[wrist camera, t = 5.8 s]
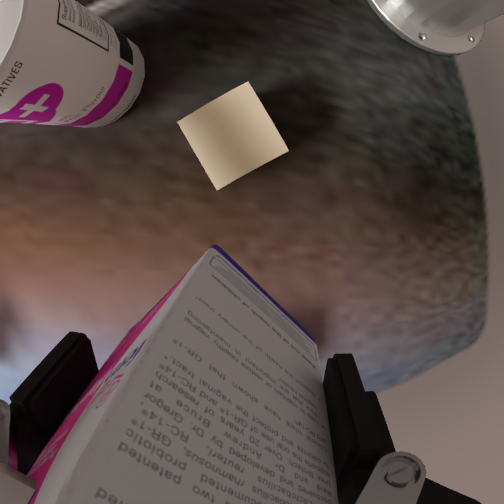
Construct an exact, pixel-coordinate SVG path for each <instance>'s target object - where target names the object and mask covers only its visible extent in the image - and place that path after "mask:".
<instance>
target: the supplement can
mask: <svg viewBox="0 0 504 504" xmlns="http://www.w3.org/2000/svg"><path fill="white" fill-rule="evenodd" d="M144 77H145V68H144V58H143V56H142V54H141V52H140V50H139V48H138V46H137V45H135V44H134V43H133V42H132V41H130V40H129V39H128V38H126V37H125V36H124V35H123V34H121V33H120V32H119V31H117V30H116V29H114V28H113V27H112V26H110V25H109V24H108V23H106V22H105V21H104V20H102V19H101V18H99V17H98V16H97V15H95V14H94V13H92V12H91V11H90V10H88V9H87V8H85V7H84V6H82V5H81V4H80V3H78V2H77V1H75V0H0V123H30V124H48V125H62V126H75V127H86V128H90V127H103V126H105V125H107V124H109V123H111V122H114V121H116V120H117V119H119V118H120V117H121V116H122V115H123V114H124V113H125V112H126V111H128V110H129V109H130V108H131V106H132V104H133V103H134V101H135V100H136V98H137V97H138V95H139V94H140V91H141V87H142V84H143V80H144Z"/></svg>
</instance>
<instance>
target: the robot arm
mask: <svg viewBox="0 0 504 504" xmlns="http://www.w3.org/2000/svg"><path fill="white" fill-rule="evenodd" d="M367 1H368V3H369V4H370V6H371V8H372V9H373V10H374V11H375V13H376V14H377V15H378V16H379V18H380V19H381V20H382V21H383V22H384V23H385V24H386V25H387V26H388V27H389V28H390V29H391V30H393V31H394V32H395V33H396V34H398V35H399V36H400V37H401V38H403V39H405V40H406V41H408V42H409V43H411V44H413V45H414V46H416V47H419V48H421V49H423V50H425V51H428V52H431V53H435V54H438V55H447V56H451V55H459V54H462V53H465V52H467V51H469V50H471V49H473V48H474V47H475V46H476V45H477V44H478V43H479V42H480V41H481V39H482V36H483V34H484V29H485V22H487V21H489V20H491V19H494V18H495V17H498V16H500V15H502V14H504V0H367ZM98 372H99V371H98V367H97V363H96V360H95V356H94V352H93V348H92V344H91V341H90V339H88V338H87V336H86V335H85V334H84V333H78V332H69V333H68V334H67V335H66V336H65V337H64V338H63V339H62V340H61V341H60V342H59V343H58V344H57V345H56V346H55V347H54V349H53V350H52V351H51V352H50V353H49V354H48V355H47V356H46V357H45V358H44V359H43V360H42V361H41V363H40V364H39V365H38V366H37V367H36V368H35V369H34V370H33V371H32V372H31V374H30V375H29V376H28V377H27V378H26V379H25V380H24V381H23V383H22V384H21V385H20V386H19V387H18V388H17V389H16V391H15V392H14V393H13V394H12V395H11V396H10V397H9V398H10V400H11V404H10V405H8V403H7V402H5V401H4V400H1V399H0V504H28V502H29V500H30V498H31V497H32V495H33V493H34V492H35V490H36V480H35V479H33V478H31V477H29V476H26V475H27V474H28V472H29V471H30V469H31V468H32V466H33V465H34V463H35V462H36V460H37V459H38V457H39V456H40V454H41V452H42V451H43V449H44V448H45V446H46V445H47V444H48V442H49V441H50V439H51V438H52V436H53V435H54V433H55V432H56V431H57V429H58V428H59V426H60V425H61V423H62V422H63V421H64V419H65V417H66V416H67V415H68V413H69V412H70V410H71V409H72V407H73V406H74V405H75V403H76V402H77V400H78V399H79V398H80V396H81V395H82V393H83V392H84V391H85V389H86V388H87V387H88V385H89V384H90V382H91V381H92V380H93V378H94V377H95V376H96V374H97V373H98ZM323 388H324V394H325V400H326V407H327V414H328V421H329V428H330V436H331V442H332V451H333V460H334V468H335V476H336V485H337V495H338V504H481V503H480V502H478V501H476V500H475V499H472V498H470V497H467V496H465V495H463V494H460V493H458V492H456V491H453V490H451V489H449V488H447V487H444V486H442V485H440V484H438V483H435V482H434V481H432V480H429V479H427V478H425V477H426V469H425V466H424V464H423V462H422V461H421V460H420V459H419V458H418V457H416V456H415V455H413V454H410V453H407V452H396V451H395V448H394V445H393V442H392V439H391V436H390V433H389V430H388V427H387V424H386V421H385V418H384V415H383V412H382V410H381V407H380V404H379V401H378V398H377V396H376V394H375V392H373V391H368V392H365V390H364V387H363V384H362V381H361V378H360V375H359V372H358V369H357V366H356V363H355V361H354V358H353V355H352V354H334V356H333V358H328V360H327V365H326V370H325V376H324V381H323Z"/></svg>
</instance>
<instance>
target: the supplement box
mask: <svg viewBox="0 0 504 504" xmlns="http://www.w3.org/2000/svg"><path fill="white" fill-rule="evenodd" d="M26 476H29V477H31V478H33V479H35V480H36V490H35V492H34V493H33V495H32V497H31V498H30V500H29V502H28V504H338V495H337V485H336V476H335V468H334V460H333V451H332V442H331V436H330V428H329V421H328V414H327V407H326V400H325V394H324V388H323V380H322V374H321V368H320V361H319V355H318V349H317V345H316V339H315V338H314V337H313V336H312V335H311V334H310V333H309V331H307V330H306V329H305V328H304V327H303V326H302V325H301V324H300V323H299V322H298V321H297V320H296V319H294V318H293V317H292V316H291V315H290V314H289V313H288V312H287V311H286V310H285V309H284V308H283V307H282V306H280V305H279V304H278V303H277V302H276V301H275V300H274V299H273V298H272V297H271V296H270V295H269V294H268V293H267V292H266V291H265V290H264V289H263V288H261V287H260V286H259V285H258V284H257V283H256V282H255V280H254V279H253V278H252V277H251V276H250V275H249V274H247V273H246V272H245V271H244V270H243V269H242V268H241V267H240V266H239V265H238V264H237V263H236V262H235V261H234V260H233V259H232V258H231V257H230V256H229V255H228V254H227V253H226V252H224V251H223V250H222V248H220V247H219V246H217V245H212V246H211V247H210V248H209V249H208V250H207V251H206V252H205V253H204V254H203V256H202V257H201V258H200V259H199V260H198V261H197V262H196V263H195V265H194V266H193V267H192V268H191V269H190V270H189V271H188V272H187V273H186V274H185V275H184V276H183V277H182V278H181V279H180V280H179V281H178V282H177V284H176V285H175V286H174V287H173V288H172V289H171V290H170V291H169V292H168V293H167V294H166V295H165V296H164V297H163V298H162V299H161V300H160V301H159V302H158V303H157V304H156V305H155V306H154V307H153V308H152V309H151V310H150V311H149V312H148V313H147V314H146V315H145V316H144V317H143V318H142V319H141V320H140V321H138V322H137V323H136V324H135V325H134V326H133V327H132V328H131V329H130V330H129V332H128V333H127V334H126V336H125V337H124V338H123V340H122V341H121V342H120V344H119V345H118V346H117V348H116V349H115V350H114V351H113V353H112V354H111V355H110V357H109V358H108V359H107V361H106V362H105V363H104V365H103V366H102V368H101V369H100V370H99V372H98V373H97V374H96V376H95V377H94V378H93V380H92V381H91V382H90V384H89V385H88V387H87V388H86V389H85V391H84V392H83V393H82V395H81V396H80V398H79V399H78V400H77V402H76V403H75V405H74V406H73V407H72V409H71V410H70V412H69V413H68V415H67V416H66V417H65V419H64V421H63V422H62V423H61V425H60V426H59V428H58V429H57V431H56V432H55V433H54V435H53V436H52V438H51V439H50V441H49V442H48V444H47V445H46V446H45V448H44V449H43V451H42V452H41V454H40V456H39V457H38V459H37V460H36V462H35V463H34V465H33V466H32V468H31V469H30V471H29V472H28V474H27V475H26Z"/></svg>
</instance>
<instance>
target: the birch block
mask: <svg viewBox="0 0 504 504" xmlns="http://www.w3.org/2000/svg"><path fill="white" fill-rule="evenodd" d="M177 123H178V124H179V126H180V128H181V130H182V131H183V133H184V135H185V136H186V138H187V140H188V142H189V143H190V145H191V147H192V148H193V150H194V152H195V154H196V155H197V157H198V159H199V160H200V162H201V164H202V166H203V167H204V169H205V171H206V172H207V174H208V176H209V178H210V179H211V181H212V183H213V185H214V186H215V188H216V190H219V189H220V188H222V187H224V186H226V185H227V184H229V183H231V182H233V181H234V180H236V179H238V178H240V177H241V176H243V175H245V174H247V173H249V172H250V171H252V170H254V169H256V168H258V167H260V166H261V165H263V164H265V163H267V162H269V161H271V160H273V159H274V158H276V157H278V156H280V155H282V154H284V153H286V152H288V151H289V150H288V148H287V146H286V145H285V143H284V141H283V139H282V137H281V136H280V134H279V132H278V130H277V129H276V127H275V125H274V124H273V122H272V120H271V118H270V117H269V115H268V113H267V112H266V110H265V108H264V107H263V105H262V103H261V102H260V100H259V98H258V97H257V95H256V93H255V92H254V90H253V88H252V87H251V85H250V84H249V82H246V83H244V84H242V85H240V86H238V87H237V88H235V89H233V90H231V91H229V92H227V93H226V94H224V95H222V96H220V97H218V98H217V99H215V100H213V101H212V102H210V103H208V104H206V105H205V106H203V107H201V108H200V109H198V110H196V111H195V112H193V113H191V114H190V115H188V116H186V117H185V118H183V119H182V120H180V121H178V122H177Z"/></svg>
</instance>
